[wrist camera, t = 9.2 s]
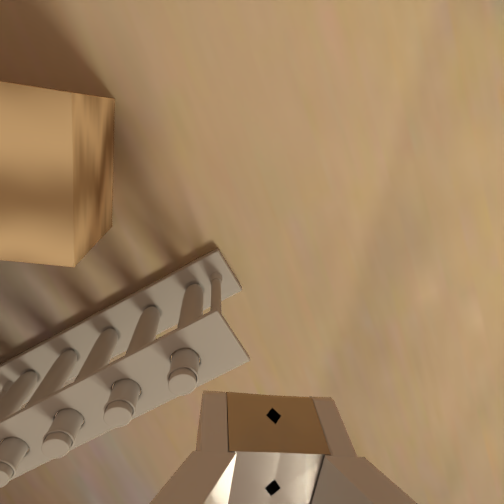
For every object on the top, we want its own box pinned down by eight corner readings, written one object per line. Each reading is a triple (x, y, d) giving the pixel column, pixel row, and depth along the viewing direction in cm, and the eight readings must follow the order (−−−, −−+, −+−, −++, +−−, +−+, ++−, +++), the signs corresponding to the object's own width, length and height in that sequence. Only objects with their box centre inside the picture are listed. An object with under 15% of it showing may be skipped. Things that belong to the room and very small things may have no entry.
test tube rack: (19, 402, 37) (-82, 550, 24) (-13, 371, 35) (-139, 511, 23) (241, 286, 34) (255, 384, 22) (217, 247, 33) (218, 328, 20)
